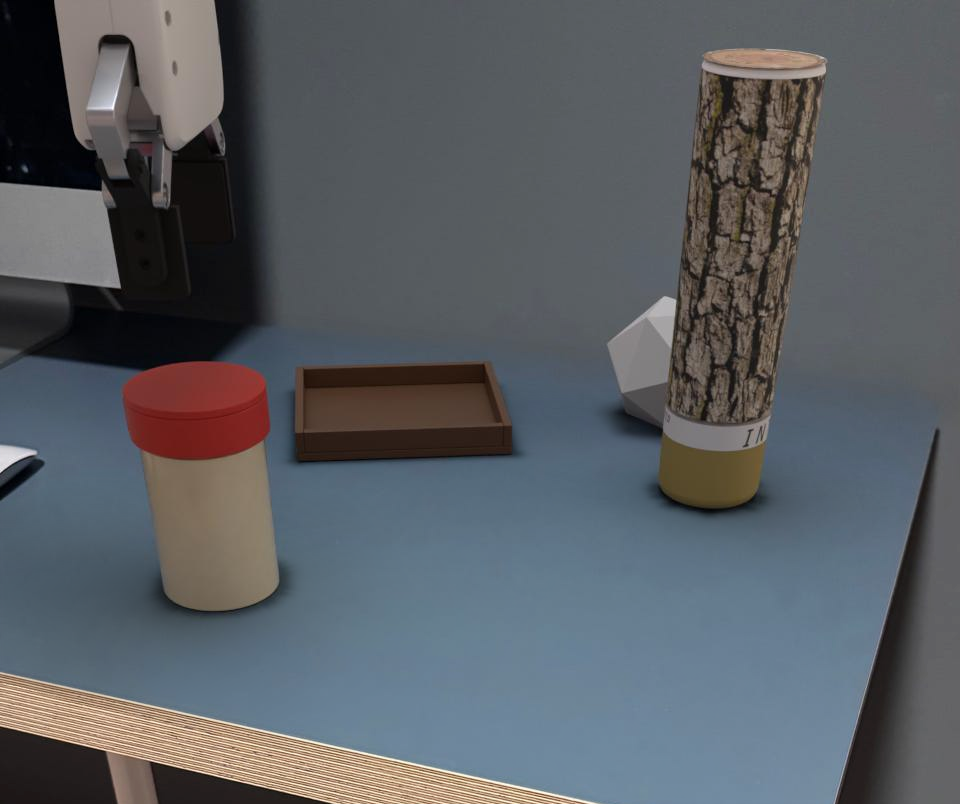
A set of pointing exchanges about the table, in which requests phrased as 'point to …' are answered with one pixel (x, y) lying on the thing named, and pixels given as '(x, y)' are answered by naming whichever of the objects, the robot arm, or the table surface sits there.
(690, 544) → the table surface
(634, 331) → the die
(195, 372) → the jar lid
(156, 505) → the jar
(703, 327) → the paper tube
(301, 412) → the tray
